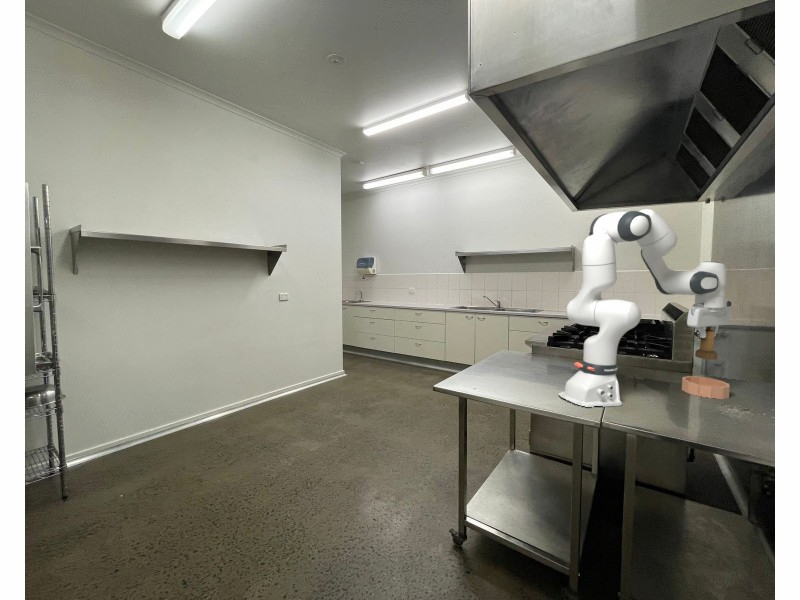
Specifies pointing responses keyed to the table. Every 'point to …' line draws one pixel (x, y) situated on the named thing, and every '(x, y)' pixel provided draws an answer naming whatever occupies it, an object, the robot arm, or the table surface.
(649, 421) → the table surface
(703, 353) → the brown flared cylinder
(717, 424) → the table surface
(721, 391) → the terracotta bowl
